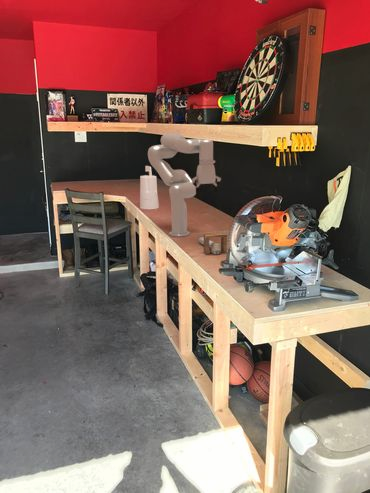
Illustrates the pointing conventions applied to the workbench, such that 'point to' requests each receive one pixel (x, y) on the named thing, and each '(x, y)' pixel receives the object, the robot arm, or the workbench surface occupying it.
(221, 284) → the workbench surface
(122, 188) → the workbench surface
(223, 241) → the walnut sleeve
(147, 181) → the white pump bottle
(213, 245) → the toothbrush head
